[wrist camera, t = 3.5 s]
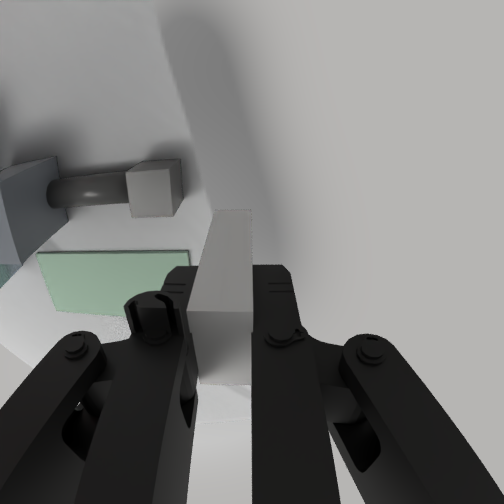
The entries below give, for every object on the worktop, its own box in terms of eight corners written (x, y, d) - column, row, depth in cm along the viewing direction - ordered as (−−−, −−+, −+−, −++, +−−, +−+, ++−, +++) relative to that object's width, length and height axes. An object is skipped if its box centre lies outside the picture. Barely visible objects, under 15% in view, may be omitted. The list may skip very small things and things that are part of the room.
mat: (58, 308, 28) (56, 310, 27) (37, 252, 24) (35, 254, 24) (196, 316, 28) (195, 319, 28) (188, 250, 25) (187, 253, 24)
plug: (23, 225, 23) (-23, 263, 16) (10, 166, 20) (-44, 193, 13) (184, 216, 23) (161, 266, 17) (179, 140, 20) (147, 159, 14)
